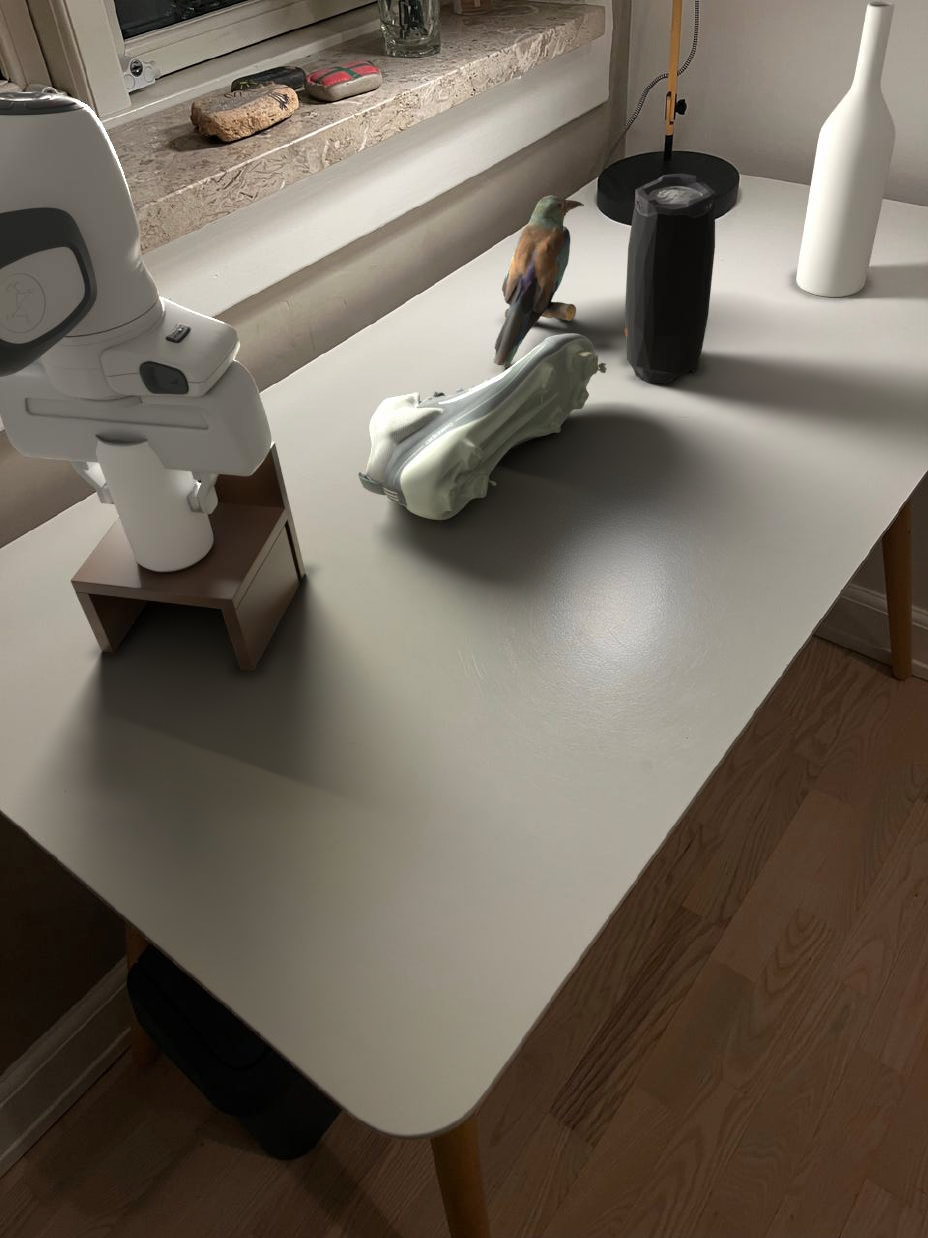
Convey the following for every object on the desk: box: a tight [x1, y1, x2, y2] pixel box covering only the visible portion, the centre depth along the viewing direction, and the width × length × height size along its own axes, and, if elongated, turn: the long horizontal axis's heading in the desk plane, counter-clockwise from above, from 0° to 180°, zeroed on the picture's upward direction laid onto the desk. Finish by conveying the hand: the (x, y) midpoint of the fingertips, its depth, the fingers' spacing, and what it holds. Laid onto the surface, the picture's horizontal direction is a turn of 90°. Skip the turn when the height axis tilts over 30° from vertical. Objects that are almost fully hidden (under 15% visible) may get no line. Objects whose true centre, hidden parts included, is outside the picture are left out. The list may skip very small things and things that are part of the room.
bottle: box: [795, 0, 896, 298], centre depth 115 cm, size 8×8×30 cm
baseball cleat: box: [357, 333, 607, 521], centre depth 102 cm, size 10×29×15 cm
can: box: [95, 435, 214, 572], centre depth 80 cm, size 6×6×12 cm
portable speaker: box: [624, 173, 717, 385], centre depth 107 cm, size 9×9×20 cm
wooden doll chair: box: [70, 441, 306, 672], centre depth 85 cm, size 14×12×14 cm
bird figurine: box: [493, 194, 585, 369], centre depth 118 cm, size 13×10×20 cm
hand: (160, 504), depth 80 cm, fingers closed on can, 6 cm apart
